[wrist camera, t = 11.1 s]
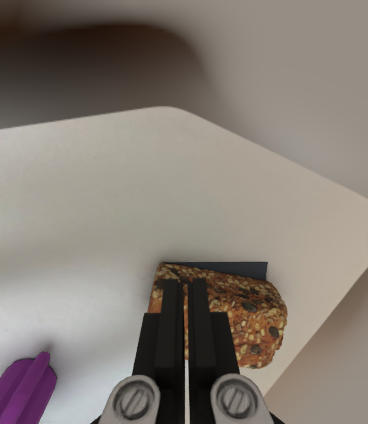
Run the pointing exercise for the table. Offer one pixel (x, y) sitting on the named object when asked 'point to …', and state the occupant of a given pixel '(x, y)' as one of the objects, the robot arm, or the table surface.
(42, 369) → the mug
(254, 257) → the table surface
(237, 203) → the table surface
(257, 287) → the bread
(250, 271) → the corner pad
